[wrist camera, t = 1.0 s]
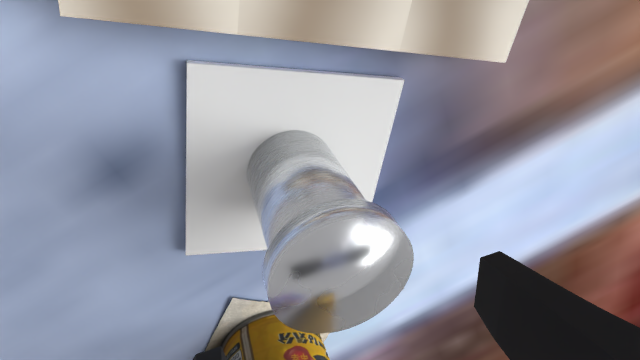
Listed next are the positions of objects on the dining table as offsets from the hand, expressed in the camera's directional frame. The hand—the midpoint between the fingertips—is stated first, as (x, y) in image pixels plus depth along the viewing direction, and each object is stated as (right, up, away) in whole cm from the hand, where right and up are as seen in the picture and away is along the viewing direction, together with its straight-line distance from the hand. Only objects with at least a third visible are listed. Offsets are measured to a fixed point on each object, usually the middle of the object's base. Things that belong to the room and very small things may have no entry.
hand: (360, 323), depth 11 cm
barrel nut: (-2, +4, +8) cm, 9 cm away
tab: (-3, +4, +8) cm, 9 cm away
